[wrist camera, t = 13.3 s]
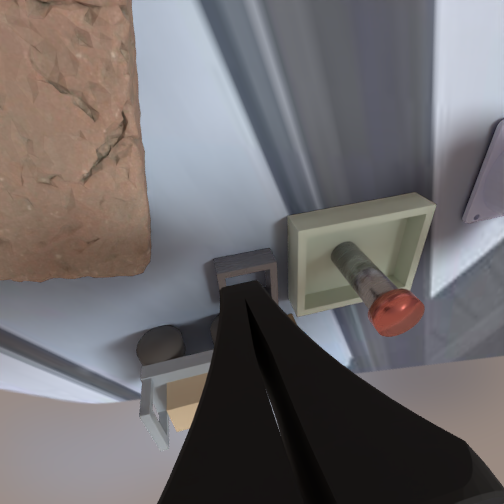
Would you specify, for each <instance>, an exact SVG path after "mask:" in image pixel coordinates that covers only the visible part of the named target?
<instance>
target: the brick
mask: <svg viewBox="0 0 504 504" xmlns="http://www.w3.org/2000/svg"><path fill="white" fill-rule="evenodd" d="M140 114H141V113H140V106H139V99H138V74H137V66H136V48H135V35H134V27H133V16H132V0H0V280H9V279H12V280H13V281H18V282H22V281H34V282H40V283H41V282H43V281H46V280H48V279H51V278H66V279H76V278H80V277H86V276H91V277H94V278H99V277H115V276H134V275H138V274H141V273H143V272H144V270H145V268H146V266H147V265H148V264H149V263H150V259H151V235H150V234H151V228H150V223H151V218H150V212H149V203H148V197H147V183H146V176H145V151H144V147H143V143H142V136H141V127H140Z"/></svg>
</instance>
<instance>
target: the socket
mask: <svg viewBox="0 0 504 504" xmlns="http://www.w3.org/2000/svg"><path fill="white" fill-rule="evenodd" d="M214 264H215V269H216V274H217V280H218V285H219V290H220V289H221V288H222V287H226V281H225V278H230V277H234V276H239V275H244V274H249V273H253V272H258V271H263V270H265V283H266V287H264V289H265V290H266V291H267V293H268V294H269V295H270V296H271V298H272V299H273V300H274V301H275V302H276V303H277V305H278V280H277V261H276V259H275V257H274V255H273V253H272V252H271V250H270V248H267V249H262V250H257V251H252V252H247V253H242V254H237V255H232V256H226V257H221V258H216V259H214Z"/></svg>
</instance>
